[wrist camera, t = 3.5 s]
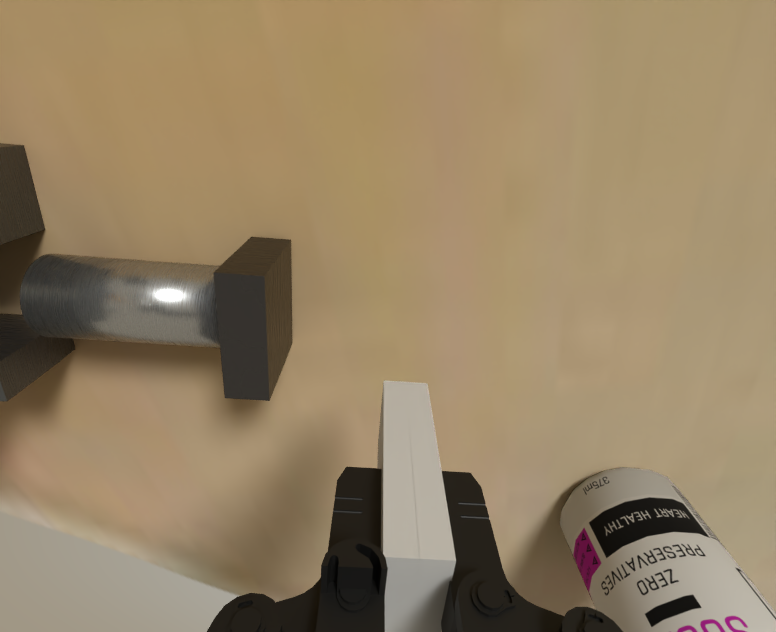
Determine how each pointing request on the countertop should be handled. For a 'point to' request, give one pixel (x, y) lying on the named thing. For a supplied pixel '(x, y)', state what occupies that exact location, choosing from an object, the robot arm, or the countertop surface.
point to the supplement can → (657, 558)
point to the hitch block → (11, 332)
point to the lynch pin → (175, 307)
